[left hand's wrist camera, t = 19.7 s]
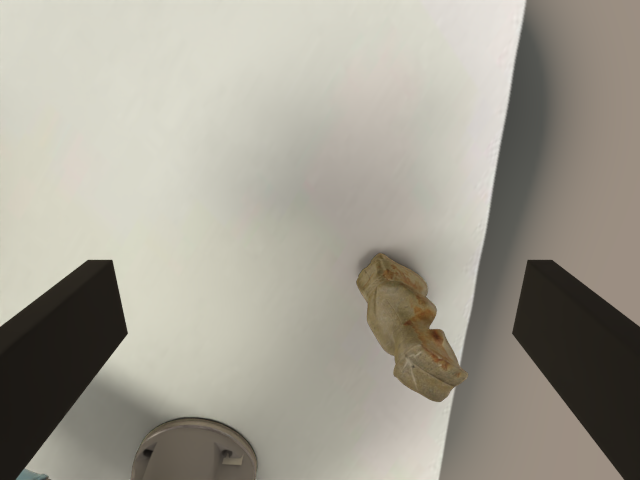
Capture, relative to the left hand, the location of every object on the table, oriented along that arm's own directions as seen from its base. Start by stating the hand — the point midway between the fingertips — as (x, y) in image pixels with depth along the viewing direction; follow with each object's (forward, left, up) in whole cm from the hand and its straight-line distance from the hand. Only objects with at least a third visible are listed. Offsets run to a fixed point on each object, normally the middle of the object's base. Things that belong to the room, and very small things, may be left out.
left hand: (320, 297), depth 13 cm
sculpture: (-12, -7, -26) cm, 30 cm away
